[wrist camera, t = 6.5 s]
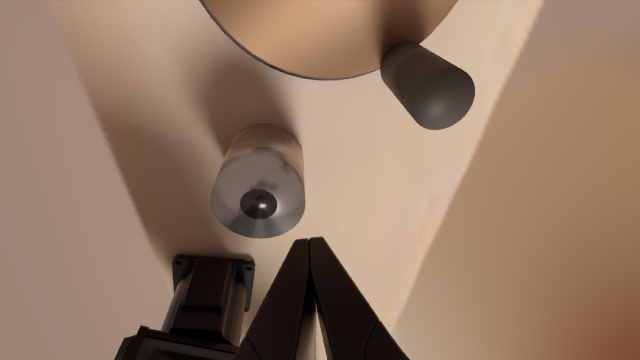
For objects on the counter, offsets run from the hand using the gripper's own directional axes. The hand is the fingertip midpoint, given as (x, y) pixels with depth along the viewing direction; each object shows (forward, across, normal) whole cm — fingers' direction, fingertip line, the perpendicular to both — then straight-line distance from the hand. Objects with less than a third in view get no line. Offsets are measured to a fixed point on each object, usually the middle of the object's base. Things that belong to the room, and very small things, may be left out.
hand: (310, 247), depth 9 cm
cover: (+12, +3, +3) cm, 13 cm away
